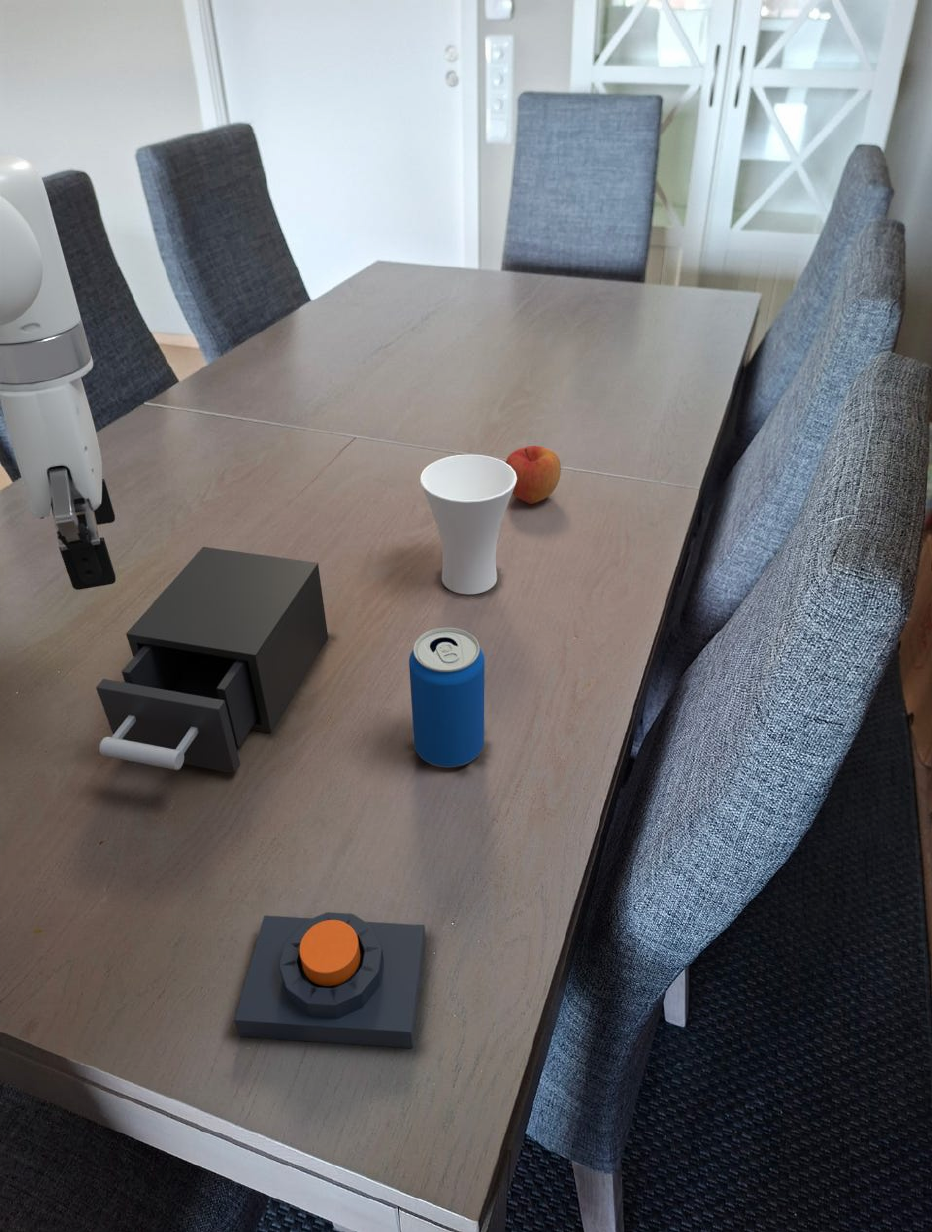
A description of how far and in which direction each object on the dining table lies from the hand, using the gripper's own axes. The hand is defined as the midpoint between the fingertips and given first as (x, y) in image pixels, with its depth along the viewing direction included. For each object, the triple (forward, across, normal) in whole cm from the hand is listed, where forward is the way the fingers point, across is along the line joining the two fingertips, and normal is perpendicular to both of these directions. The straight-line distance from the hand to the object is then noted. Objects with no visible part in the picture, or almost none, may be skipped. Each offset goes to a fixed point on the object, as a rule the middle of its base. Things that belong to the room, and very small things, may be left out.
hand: (96, 552), depth 73 cm
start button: (+16, +33, +12) cm, 38 cm away
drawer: (+18, +4, +5) cm, 19 cm away
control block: (+20, +32, +12) cm, 40 cm away
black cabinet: (+19, -4, +10) cm, 22 cm away
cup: (+19, -12, +37) cm, 43 cm away
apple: (+19, -27, +50) cm, 60 cm away
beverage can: (+20, +13, +26) cm, 35 cm away
